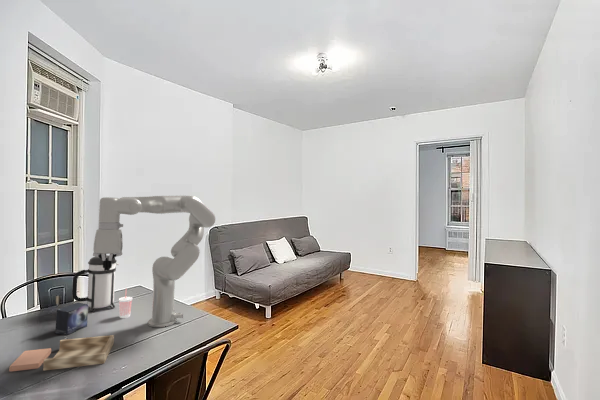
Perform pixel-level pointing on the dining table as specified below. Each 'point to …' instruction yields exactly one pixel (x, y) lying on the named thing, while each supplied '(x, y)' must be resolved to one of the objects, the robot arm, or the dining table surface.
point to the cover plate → (30, 359)
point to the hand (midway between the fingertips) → (107, 269)
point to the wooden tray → (80, 352)
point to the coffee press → (97, 284)
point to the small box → (71, 318)
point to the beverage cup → (125, 306)
